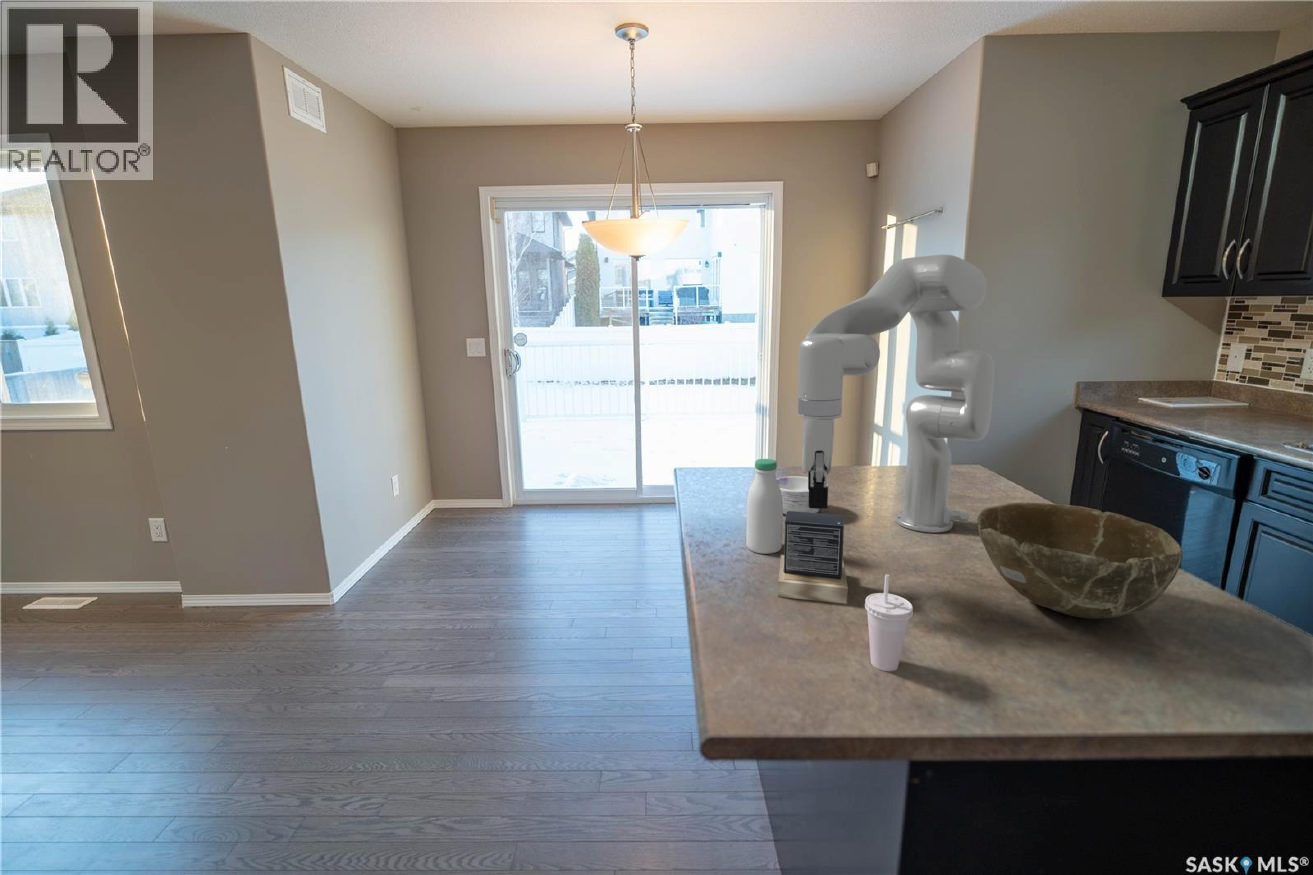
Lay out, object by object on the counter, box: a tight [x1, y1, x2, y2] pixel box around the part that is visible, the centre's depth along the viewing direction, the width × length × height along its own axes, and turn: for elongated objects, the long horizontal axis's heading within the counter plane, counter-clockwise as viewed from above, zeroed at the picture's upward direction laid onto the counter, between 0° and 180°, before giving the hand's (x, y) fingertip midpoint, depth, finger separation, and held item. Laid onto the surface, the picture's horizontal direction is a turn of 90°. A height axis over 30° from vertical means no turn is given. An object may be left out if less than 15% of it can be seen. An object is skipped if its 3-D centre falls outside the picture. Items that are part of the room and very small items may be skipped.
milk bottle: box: [745, 458, 784, 555], centre depth 121 cm, size 8×8×20 cm
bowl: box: [976, 502, 1184, 620], centre depth 94 cm, size 28×27×15 cm
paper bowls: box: [776, 475, 829, 516], centre depth 145 cm, size 15×15×8 cm
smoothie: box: [864, 573, 914, 672], centre depth 80 cm, size 6×6×14 cm
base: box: [777, 554, 849, 605], centre depth 105 cm, size 12×12×3 cm
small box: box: [783, 511, 845, 579], centre depth 104 cm, size 11×6×10 cm, turn 72°
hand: (817, 498), depth 102 cm, fingers open, 9 cm apart
